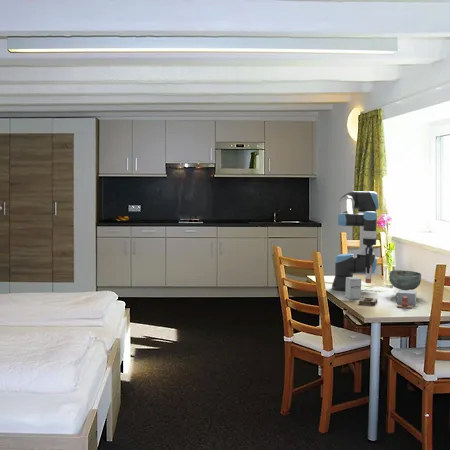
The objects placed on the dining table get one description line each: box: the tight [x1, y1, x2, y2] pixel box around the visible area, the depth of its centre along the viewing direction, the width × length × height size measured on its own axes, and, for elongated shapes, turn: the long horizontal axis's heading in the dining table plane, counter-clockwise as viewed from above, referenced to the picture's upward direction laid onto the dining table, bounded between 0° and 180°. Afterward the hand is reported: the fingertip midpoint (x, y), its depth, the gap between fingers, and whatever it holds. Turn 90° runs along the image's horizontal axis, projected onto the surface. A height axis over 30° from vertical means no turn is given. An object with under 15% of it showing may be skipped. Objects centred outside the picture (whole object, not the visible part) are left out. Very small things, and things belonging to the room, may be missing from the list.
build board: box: [358, 296, 378, 307], centre depth 370 cm, size 11×9×2 cm
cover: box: [396, 289, 417, 307], centre depth 371 cm, size 10×10×7 cm
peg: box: [365, 265, 372, 284], centre depth 366 cm, size 3×3×10 cm
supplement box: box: [344, 276, 362, 300], centre depth 385 cm, size 7×7×13 cm
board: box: [396, 297, 414, 310], centre depth 361 cm, size 8×8×6 cm
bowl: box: [388, 269, 422, 297], centre depth 393 cm, size 20×19×15 cm
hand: (368, 278), depth 366 cm, fingers closed on peg, 3 cm apart
